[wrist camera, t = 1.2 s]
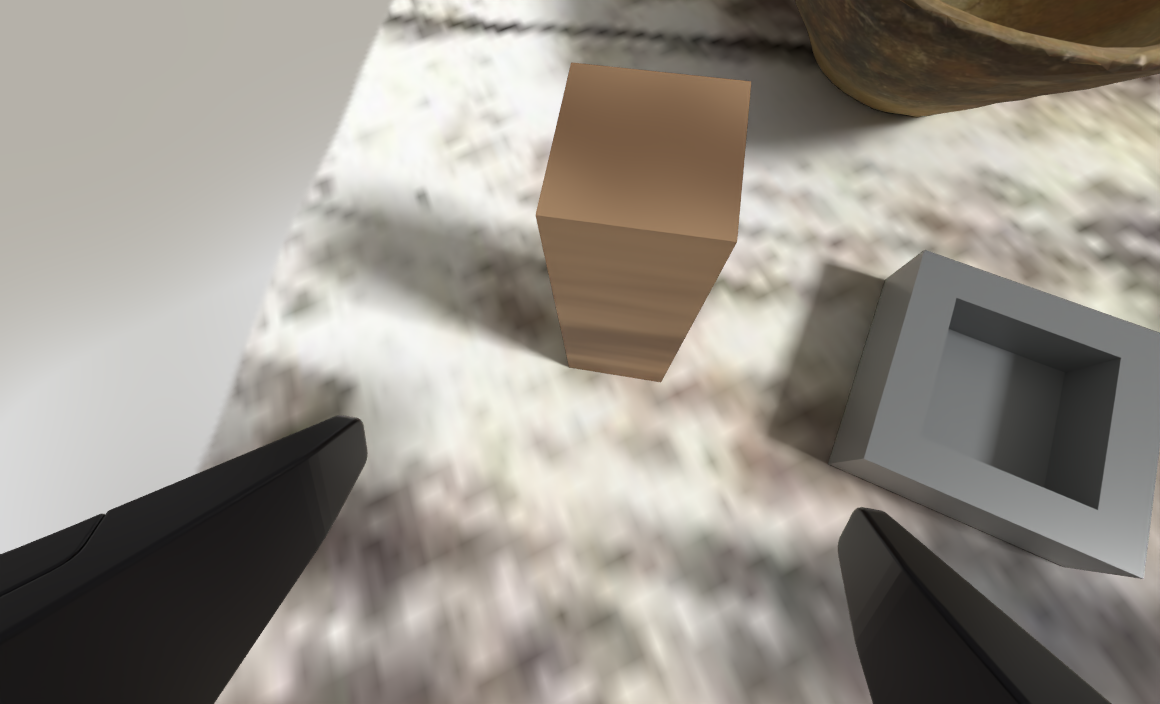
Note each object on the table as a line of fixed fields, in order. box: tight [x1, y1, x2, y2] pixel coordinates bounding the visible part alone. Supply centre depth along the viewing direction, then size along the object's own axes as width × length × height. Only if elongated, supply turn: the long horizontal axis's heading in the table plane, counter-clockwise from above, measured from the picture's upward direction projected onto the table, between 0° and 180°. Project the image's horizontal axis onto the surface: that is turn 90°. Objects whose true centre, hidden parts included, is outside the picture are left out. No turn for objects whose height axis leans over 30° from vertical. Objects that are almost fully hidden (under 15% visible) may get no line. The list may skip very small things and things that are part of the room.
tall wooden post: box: [536, 63, 751, 382], centre depth 17 cm, size 4×4×13 cm
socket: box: [828, 250, 1160, 579], centre depth 20 cm, size 10×10×3 cm
